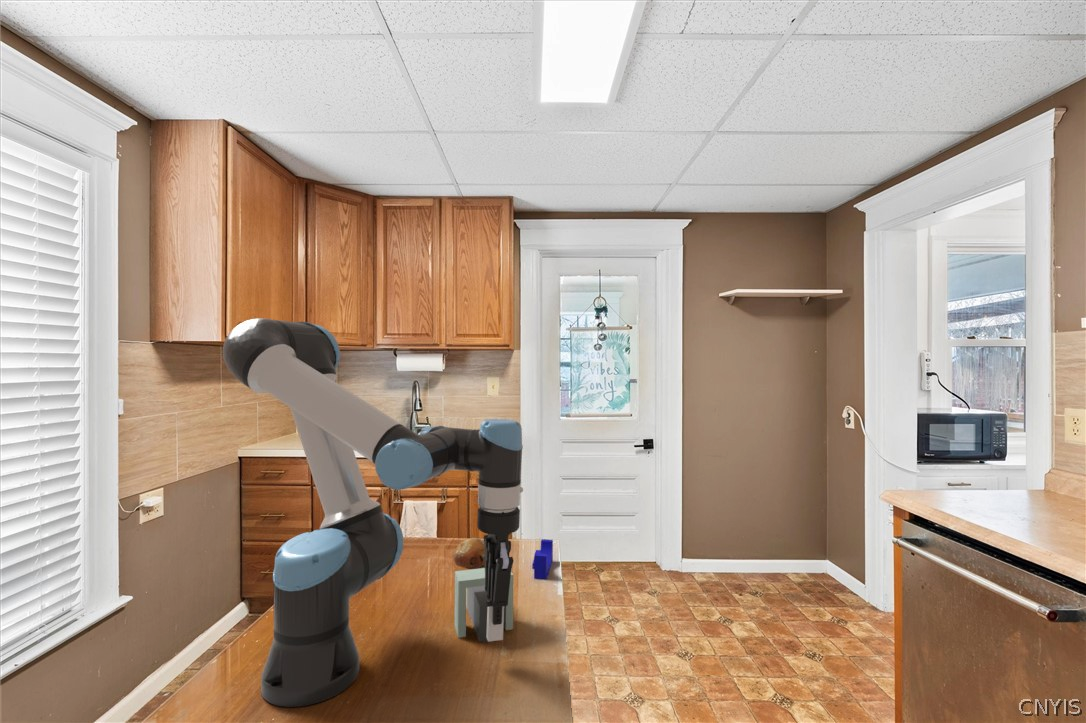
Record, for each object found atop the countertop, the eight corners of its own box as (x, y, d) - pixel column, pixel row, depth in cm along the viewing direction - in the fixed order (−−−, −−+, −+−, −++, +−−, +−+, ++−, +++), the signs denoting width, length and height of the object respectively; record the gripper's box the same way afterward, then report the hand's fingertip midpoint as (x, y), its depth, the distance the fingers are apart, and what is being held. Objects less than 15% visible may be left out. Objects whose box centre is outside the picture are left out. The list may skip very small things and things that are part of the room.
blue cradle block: (536, 560, 140) (536, 538, 140) (552, 562, 139) (552, 539, 139) (528, 579, 128) (528, 555, 128) (546, 580, 128) (546, 556, 128)
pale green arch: (458, 637, 100) (458, 581, 100) (454, 625, 105) (454, 571, 105) (513, 629, 104) (513, 574, 104) (507, 617, 108) (507, 565, 108)
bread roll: (481, 567, 144) (474, 538, 147) (502, 561, 138) (494, 530, 140) (451, 576, 138) (444, 546, 140) (471, 571, 131) (464, 539, 133)
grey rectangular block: (479, 642, 99) (479, 605, 99) (465, 604, 114) (465, 573, 114) (499, 639, 100) (500, 603, 100) (483, 602, 115) (483, 571, 115)
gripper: (529, 516, 87) (524, 655, 87) (510, 496, 99) (506, 618, 100) (485, 519, 85) (480, 662, 85) (471, 498, 97) (467, 623, 97)
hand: (494, 638), depth 92 cm, fingers closed
